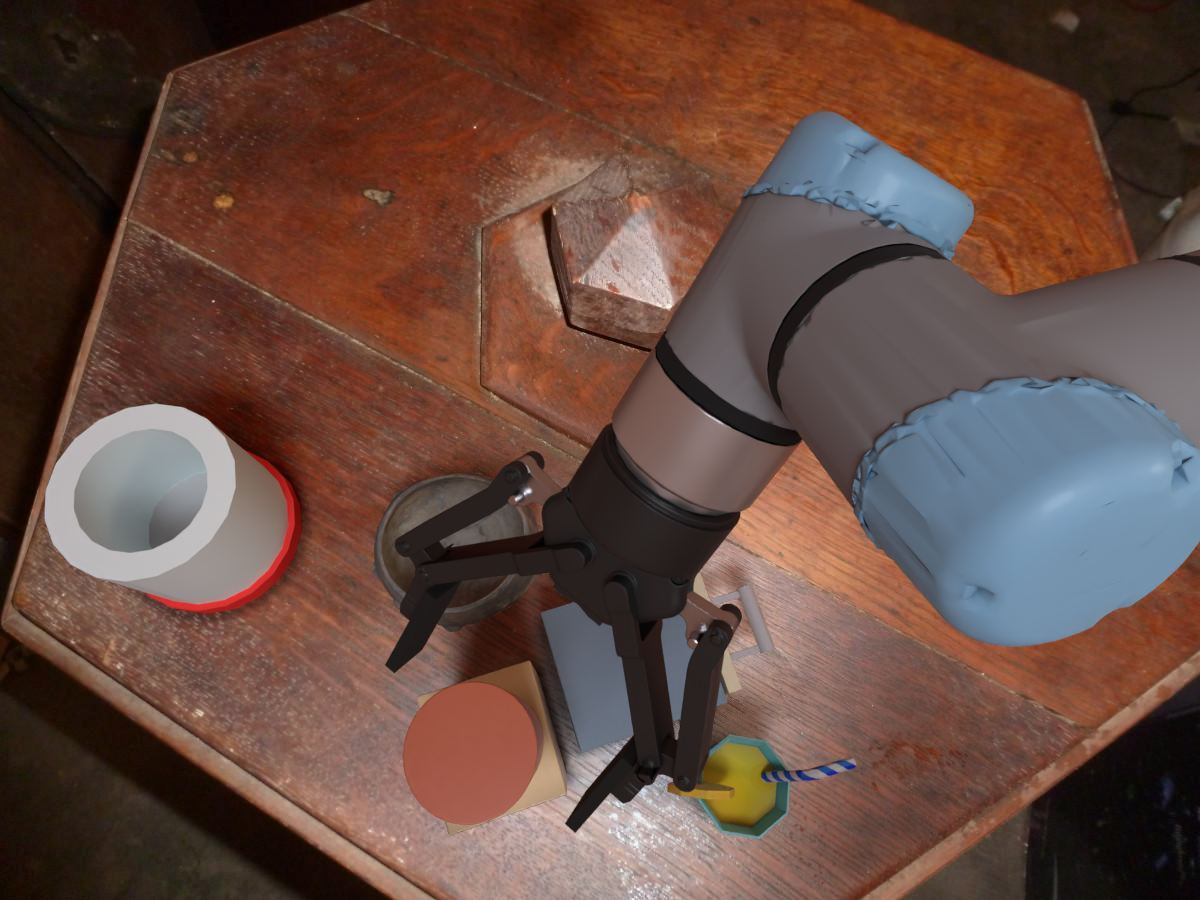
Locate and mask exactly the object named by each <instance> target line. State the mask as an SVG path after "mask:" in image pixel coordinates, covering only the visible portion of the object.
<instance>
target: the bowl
mask: <svg viewBox="0 0 1200 900" xmlns="http://www.w3.org/2000/svg"><path fill="white" fill-rule="evenodd" d="M493 480H494V478H492V477H489V476H486V475H483V474H482V473H481V472H479V471H478V472H473V471H472V472H451V473H444V474H439V475H435V476H432V477H428V478H424V479H422V480H419V481H417V482H415V483H413V484H411V485H409V486H408V487H406V488H404V489H401V490H397V491H396V492H395V493H394V494H393V495H392V496H391V500H390V503H389V504H388V506H387V507H386V510H385V512H384V513H383V514H382V517H381V519H380V521H379V523H378V526H377V528H376V533H375V538H374V544H373V545H374V546H373V564H372V566H371V571H372V572H371V575H372V577H373V578H375V579H378V580H380V583H381V584H382V586H383V588H384V589H385V591H386V592H387V593H388V595H389V596H390V598H391V599H392V602H393V603H392V604H393V605H394V606H395V608H397V609H398V610H400V604H401V602H402V600H403V598H404V596H405V594H406V593H407V591H408V589H409V587H410V585H411V583H412V581H413V579H414V577H415V566H414V564H413V562H412V561H411V559H410V558H409V557H403V556H401V555H400V554H399V553H398V552H397V551H396V548H395V541H396V539H397V538H398V537H400V536H402V535H403V534H405V533H407V532H408V531H410V530H412V529H413V528H415V527H417V526H418V525H420V524H421V523H423V522H425V521H427V520H429V519H430V518H432V517H434V516H436V515H438V514H440V513H441V512H443V511H445V510H447V509H449V508H451V507H452V506H454V505H456V504H458V503H460V502H462V501H464V500H465V499H467V498H469V497H471V496H473V495H475V494H476V493H478V492H480V491H482V490H484V489H486V488H488V487H489V485H490V484H491V482H492V481H493ZM538 532H540V529H539V526H538V522H537V519H536V516H535V515H534V513H533V511H532V509H531V508H530V506H529V504H528V505H527V506H525V507H519V506H517V505H516V506H512V505H510V504H509V503H508V504H506V505H505V506H503V507H502V508H500V509H499V510H497V511H496V512H494V513H492V514H491V515H489V516H487V517H485V518H483V519H481V520H479V521H477V522H475V523H473V524H471V525H470V526H468V527H466V528H464V529H462V530H460V531H458V532H456V533H454V534H452V535H450V536H448V537H446V538H444V539H442V540H440V543H441V544H442V546H443V547H444V548H446V547H447V546H449V545H450V544H452V543H454V545H453V546H452V547H456V546H462V545H469V544H475V543H481V542H487V541H493V540H500V539H506V538H512V537H518V536H524V535H530V534H535V533H538ZM540 576H542V574H538V575H530V576H519V574H511V575H504V576H496V577H489V578H481V579H474V580H466V581H462V582H461V584H460V586H459V587H458V589H457V591H456V593H455V594H454V596H453V598H452V600H451V601H450V603H449V605H448V606H447V608H446V610H445V612H444V613H443V615H442V617H441V619H440V620H439V622H438V624H437V625H436V626H440V627H442V628H444V630H446V631H447V632H448V633H458V632H460V630H462V629H463V627H466V626H468V625H473V624H477V623H480V622H482V621H485V620H487V619H489V618H492V617H494V616H495V615H497V614H500V613H501V612H503V611H506V610H508V609H509V608H510V607H511V606H513V605H514V604H516V603H517V602H518V601H519V600H520V599H521V598H522V597H523V596H524V595H525V594H526V593H527V591H528V589H530V587H531V586H532V584H533V583H534V581H536V580H537V579H538V578H539V577H540Z"/></svg>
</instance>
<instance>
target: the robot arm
mask: <svg viewBox="0 0 1200 900" xmlns="http://www.w3.org/2000/svg"><path fill="white" fill-rule="evenodd" d="M740 198H741V199H740V203H739V205H738V206H737V208H736V210H735V211H734V213H733V214H732V216H731V218H730V219H729V221H728V223H727V225H726V226H725V228H724V230H723V231H722V232H721V234H720V236H719V238H718V240H717V241H716V243H715V244H714V247H713V249H712V250H711V251H710V253H709V255H708V256H707V258H706V260H705V262H704V263H703V264H702V266H701V268H700V270H699V271H698V273H697V275H696V276H695V278H694V280H693V282H692V283H691V285H690V286H689V288H688V290H687V292H686V293H685V295H684V297H683V298H682V300H681V301H680V303H679V305H678V306H677V308H676V310H675V312H674V313H673V315H672V316H671V318H670V320H669V321H668V323H667V325H666V326H665V330H664V331H663V333H662V334H661V336H660V337H659V339H657V341H655V344H654V346H653V347H652V349H651V350H650V352H649V353H648V355H647V356H646V358H645V360H644V361H643V362H642V365H641V366H640V367H639V369H638V371H637V372H636V374H635V376H634V377H633V379H632V380H631V382H630V384H629V385H628V387H627V388H626V390H625V391H624V392H623V395H622V396H621V398H620V400H619V401H618V402H617V404H616V406H615V407H614V409H613V411H612V415H611V422H609V423H607V424H606V425H605V426H604V427H603V428H602V429H601V431H600V433H598V435H597V437H596V439H595V440H594V442H593V443H592V444H591V447H590V448H589V450H588V452H587V453H586V455H585V456H584V458H583V460H582V461H581V463H580V464H579V466H578V467H577V469H576V471H575V473H574V475H573V476H572V478H571V479H570V481H569V482H568V484H567V485H566V486H564V487H561V486H560V485H559V484H558V483H557V482H556V481H555V480H553V478H552V477H550V476H549V475H548V474H547V473H546V472H545V471H544V468H545V467H546V460H545V459H544V456H543V455H542V454H541V452H539V451H536V450H530V451H528V452H526V453H524V454H522V455H521V456H519V457H517V458H516V459H514V460H512V461H510V462H509V463H506V464H505V465H504V466H502V468H501V469H500V471H499V472H498V473H497V475H496V476H495V477H494V478H493V479H494V480H493V481H492V482H491V484H490V485H489V487H488V488H486V489H484V490H482V491H480V492H478V493H476V494H475V495H473V496H471V497H469V498H467V499H465V500H464V501H462V502H460V503H458V504H456V505H454V506H452V507H451V508H449V509H447V510H445V511H443V512H441V513H440V514H438V515H436V516H434V517H432V518H430V519H429V520H427V521H425V522H423V523H421V524H420V525H418V526H417V527H415V528H413V529H412V530H410V531H408V532H407V533H405V534H403V535H402V536H400V537H398V538H397V539H396V541H395V548H396V551H397V552H398V553H399V554H400V555H401V556H403V557H409V558H410V559H411V561H412V562H413V564H414V566H415V577H414V579H413V581H412V583H411V585H410V587H409V589H408V591H407V593H406V594H405V596H404V598H403V600H402V602H401V604H400V609H399V613H400V614H401V615H402V616H403V617H405V618H406V620H408V622H407V624H406V625H405V628H404V629H403V631H402V633H401V635H400V637H399V638H398V640H397V641H396V644H395V646H394V648H393V649H392V651H391V653H390V655H389V657H388V658H387V661H386V662H385V664H384V666H385V667H386V668H387V669H389V671H390V672H392V673H393V674H396V673H397V672H398V671H399V670H400V669H402V668H403V667H404V666H405V665H406V664H407V663H409V662H410V661H411V660H412V659H414V658H415V657H416V656H417V655H418V654H420V653H421V652H423V650H424V648H425V646H426V644H428V641H429V639H430V638H431V636H432V635H433V633H434V631H435V629H436V627H437V626H438V625H437V624H438V622H439V620H440V619H441V617H442V615H443V613H444V612H445V610H446V608H447V606H448V605H449V603H450V601H451V600H452V598H453V596H454V594H455V593H456V591H457V589H458V587H459V586H460V584H461V582H462V581H466V580H474V579H481V578H489V577H496V576H504V575H511V574H519V576H530V575H538V574H541V575H545V574H548V575H549V577H550V579H551V581H552V582H553V584H552V586H551V589H553V590H555V592H557V593H558V594H559V595H560V596H562V597H563V598H565V599H566V600H569V601H571V602H575V603H577V604H578V605H579V606H580V608H581V609H582V610H583V611H584V612H585V614H586V615H587V616H588V617H589V618H590V619H591V620H593V621H594V622H595V623H596V624H597V625H599V626H600V625H601V624H602V623H604V624H606V625H609V626H612V631H613V637H614V643H615V649H616V654H617V656H618V657H621V658H622V664H623V670H624V676H625V683H626V689H627V695H628V702H629V708H630V715H631V721H632V727H633V734H634V735H633V736H630V738H629V739H628V740H627V742H626V743H625V744H624V745H623V747H622V748H621V749H620V750H619V751H618V752H617V753H616V755H615V756H614V757H613V758H612V759H611V761H609V763H608V764H607V765H606V766H605V768H604V769H603V770H602V771H601V772H600V774H598V776H597V777H596V778H595V780H593V781H592V783H591V784H590V785H589V786H588V788H587V789H586V790H585V791H584V793H583V795H582V796H581V797H580V798H579V801H578V802H577V803H576V805H575V807H574V809H573V810H572V811H571V812H570V815H569V816H568V818H567V819H566V820H565V823H564V824H565V826H567V828H569V829H570V830H571V831H572V832H573V833H574V834H576V833H577V832H578V831H579V830H580V828H581V827H582V826H583V825H584V824H585V822H587V820H589V819H590V817H591V816H592V815H593V814H594V812H595V811H596V810H597V809H598V808H599V807H600V806H601V804H602V803H603V802H604V801H605V800H606V799H607V798H608V796H610V794H611V795H612V796H613V797H614V798H615V799H617V800H618V801H619V802H620V803H621V804H622V805H624V804H627V803H630V802H631V801H632V800H634V798H635V797H636V796H637V795H638V794H639V793H640V792H641V791H642V789H644V787H646V786H651V785H653V784H654V782H655V781H656V779H657V778H658V776H659V775H661V776H666V777H668V778H670V779H672V782H673V783H674V785H675V786H676V787H677V788H678V789H679V790H681V791H683V792H691V791H693V790H694V788H695V786H696V784H697V782H698V780H699V778H700V776H701V773H702V771H703V769H704V767H705V765H706V762H707V760H708V757H709V753H710V747H711V746H712V738H713V732H714V726H715V719H716V713H717V707H718V706H717V700H718V693H719V686H720V680H721V673H722V666H723V659H724V653H725V650H726V649H727V648H729V645H730V643H731V641H732V639H733V638H734V636H735V634H736V632H737V630H738V628H739V627H740V624H741V623H742V620H743V613H742V610H741V608H739V607H738V606H737V605H735V604H733V603H723V604H722V605H721V606H720V607H719V606H718V605H714V604H712V603H711V602H709V601H708V600H706V599H705V598H703V597H701V596H700V595H698V594H697V593H695V592H694V591H693V590H694V580H695V577H696V576H697V574H698V573H699V572H700V573H701V571H702V569H703V568H704V567H705V565H706V564H707V563H708V561H710V559H711V558H712V557H713V555H714V554H715V553H716V551H717V550H718V549H719V548H720V547H721V545H722V544H723V542H724V541H725V540H726V539H727V537H728V536H729V535H730V534H731V533H732V531H733V530H734V529H735V527H736V526H737V525H738V524H739V521H740V519H741V516H742V515H741V513H742V512H743V511H746V510H747V509H750V508H751V507H752V506H753V504H754V503H755V502H756V500H757V499H758V498H759V497H760V496H761V494H762V493H763V492H764V490H765V489H766V488H767V486H768V485H769V484H770V482H771V481H772V480H773V479H774V478H775V476H776V475H778V473H779V471H780V470H781V469H782V467H783V466H784V465H785V464H786V462H787V461H788V460H789V459H790V458H791V456H792V455H793V454H794V453H795V451H796V450H797V449H798V447H799V446H800V445H801V444H802V442H803V443H805V445H806V446H807V448H808V449H809V450H810V452H811V453H812V454H813V456H814V457H815V459H816V460H817V461H818V463H819V464H820V465H821V467H822V468H823V470H824V471H825V472H826V474H827V475H828V476H829V478H830V479H831V480H832V482H833V484H834V485H835V486H836V487H837V489H838V490H839V491H840V493H841V494H842V495H843V497H844V498H845V500H846V501H847V502H848V504H849V505H850V506H851V508H852V509H853V515H854V517H855V518H857V521H858V522H859V524H860V527H861V529H862V531H863V532H864V534H865V536H866V537H867V538H868V539H869V540H870V541H871V542H872V544H873V545H875V547H876V549H878V550H881V551H883V553H884V554H885V555H886V557H888V558H889V559H890V560H891V561H893V563H894V564H895V565H896V566H897V567H898V568H899V569H900V571H901V572H902V573H903V575H905V576H906V578H907V579H908V580H909V581H910V582H911V584H913V585H914V587H915V588H916V589H917V591H918V592H919V593H920V594H921V595H922V596H923V597H924V599H925V600H926V601H927V602H928V603H929V604H930V606H931V607H932V608H933V609H934V610H935V612H936V613H937V614H938V615H939V616H940V617H941V618H942V620H943V621H944V622H946V623H947V624H948V625H950V626H951V628H953V629H955V630H956V631H957V632H959V633H960V634H962V635H963V636H965V637H968V638H971V639H973V640H976V641H978V642H981V643H984V644H986V645H993V646H1000V647H1007V648H1009V647H1011V648H1013V647H1018V648H1019V647H1021V648H1022V647H1032V646H1037V645H1038V646H1039V645H1044V644H1048V643H1052V642H1056V641H1060V640H1063V639H1066V638H1069V637H1072V636H1075V635H1078V634H1080V633H1083V632H1085V631H1087V630H1089V629H1091V628H1093V627H1094V626H1096V624H1097V623H1098V622H1099V621H1100V620H1101V619H1103V618H1104V617H1105V616H1107V615H1108V614H1110V613H1112V612H1114V611H1115V610H1118V609H1124V608H1130V607H1131V606H1133V605H1135V603H1137V602H1139V601H1140V600H1142V599H1143V598H1145V597H1146V596H1148V595H1149V594H1150V593H1152V592H1153V591H1154V590H1156V589H1157V588H1158V587H1159V586H1160V585H1161V584H1163V583H1164V582H1165V581H1166V580H1167V579H1168V578H1169V577H1170V576H1171V575H1172V574H1174V573H1175V572H1176V571H1177V570H1178V569H1179V568H1180V567H1181V566H1182V565H1183V564H1184V562H1185V561H1186V560H1187V559H1188V558H1189V557H1190V555H1191V554H1192V553H1193V551H1194V550H1195V549H1196V547H1197V546H1198V545H1199V544H1200V249H1196V250H1193V251H1192V250H1191V251H1189V252H1186V253H1181V254H1175V255H1171V256H1165V257H1159V258H1158V257H1157V258H1156V259H1152V260H1145V261H1142V262H1137V263H1133V264H1130V265H1125V266H1121V267H1117V268H1113V269H1110V270H1105V271H1102V272H1097V273H1094V274H1090V275H1085V276H1082V277H1078V278H1074V279H1070V280H1066V281H1061V282H1058V283H1053V284H1050V285H1046V286H1041V287H1038V288H1035V289H1031V290H1027V291H1023V292H1020V293H1015V294H1001V293H998V292H994V291H993V290H991V289H990V288H989V287H987V286H986V285H984V284H983V283H982V282H980V281H979V280H978V279H976V278H975V277H973V276H972V275H970V274H969V273H968V272H966V271H965V270H963V268H961V267H959V266H958V265H957V264H955V263H954V262H952V261H951V260H952V259H953V258H954V257H955V256H956V254H955V253H956V252H955V250H956V247H957V245H958V243H959V242H960V241H961V239H962V238H963V237H964V236H965V234H966V233H967V231H968V229H969V228H970V227H971V225H972V223H973V221H974V216H975V206H974V203H973V200H972V198H970V196H969V195H967V194H966V193H965V192H964V191H962V190H961V189H960V188H958V187H956V186H955V185H954V184H951V183H950V182H948V181H946V180H944V179H943V178H941V177H940V176H938V175H937V174H935V173H934V172H933V171H931V170H930V169H928V168H926V166H925V167H924V166H923V165H921V164H920V163H918V162H916V160H914V159H912V158H910V157H909V156H907V155H906V154H904V153H902V152H900V151H898V150H897V149H896V148H894V147H893V146H890V145H889V144H887V143H886V142H884V141H883V140H881V139H879V138H877V137H876V136H875V135H872V134H871V133H870V132H868V131H866V130H865V129H863V128H862V127H860V126H859V125H857V124H856V123H854V122H852V121H851V120H849V119H847V118H846V117H845V116H843V115H841V114H839V113H838V112H834V111H828V110H821V111H815V112H812V113H809V114H807V115H806V116H804V117H802V118H801V119H800V120H799V121H797V123H796V124H795V125H794V126H793V127H792V129H791V131H790V132H789V134H788V135H787V136H786V138H785V139H784V141H783V142H782V144H781V146H780V147H779V148H778V149H777V151H776V152H775V154H774V155H773V157H772V159H770V161H769V163H768V165H767V166H766V167H765V169H764V170H763V172H762V173H761V175H760V176H759V177H758V179H757V181H756V182H755V183H753V184H750V185H749V186H748V188H747V189H746V190H744V192H743V193H742V195H741V197H740ZM508 503H509V504H510V505H512V506H516V505H517V506H519V507H525V506H527V505H528V506H529V505H530V504H537V505H540V506H541V507H542V508H541V523H542V530H539V532H538V533H535V534H530V535H524V536H518V537H512V538H506V539H500V540H493V541H487V542H481V543H475V544H469V545H462V546H456V547H452V546H453V545H454V543H452V544H450V545H449V546H447V547H446V548H444V547H443V546H442V544H441V543H440V540H442V539H444V538H446V537H448V536H450V535H452V534H454V533H456V532H458V531H460V530H462V529H464V528H466V527H468V526H470V525H471V524H473V523H475V522H477V521H479V520H481V519H483V518H485V517H487V516H489V515H491V514H492V513H494V512H496V511H497V510H499V509H500V508H502V507H503V506H505V505H506V504H508ZM678 614H679V615H680V616H681V617H683V619H684V620H685V622H686V626H687V628H686V632H685V636H686V639H687V645H688V647H689V648H691V649H694V651H693V653H692V655H691V657H690V660H689V663H688V667H687V672H686V679H685V687H684V695H683V702H682V710H681V718H680V719H679V726H678V732H677V733H678V734H677V739H676V734H675V733H676V732H675V726H674V721H673V718H672V711H671V704H670V697H669V690H668V683H667V676H666V669H665V662H664V655H663V648H662V640H661V632H662V627H663V620H662V619H667V618H672V617H675V616H677V615H678ZM716 706H717V707H716Z"/></svg>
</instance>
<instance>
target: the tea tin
mask: <svg viewBox="0 0 1200 900" xmlns="http://www.w3.org/2000/svg"><path fill="white" fill-rule="evenodd" d="M462 682H463V681H462ZM458 683H459V684H457V683H455V685H454V684H451V685H452V686H451V685H448V686H449V687H448V686H446V687H447V688H445V687H444V688H445V689H443V690H441V691H439V692H438V693H436V694H435V695H434V696H432V697H431V698H430V699H429V700H428V701H427V702H426V703H425V704H423V706H422V707H421V708H420V709H419V708H418V711H417V712H416V714H415V715H414V716H413V719H412V720H411V722H410V724H409V726H408V729H407V730H406V731H407V732H406V735H405V737H404V743H403V750H402V765H403V771H404V776H405V779H406V782H407V785H408V787H409V790H410V791H411V792H410V793H412V795H413V796H414V798H415V799H416V802H418V803H419V804H420V806H421V807H423V808H424V809H425V810H426V811H427V812H428V813H430V814H431V815H432V816H434V817H435V818H437V819H440V820H441V821H444V822H445V821H447V822H450V823H453V824H460V825H473V824H480V823H483V822H487V821H490V820H492V819H494V818H497V817H498V816H500V815H502V814H503V813H505V812H506V811H507V810H509V809H510V808H511V807H512V806H513V805H514V804H515V803H516V802H517V801H518V800H519V799H520V798H521V796H522V795H523V794H524V792H525V791H526V789H527V787H528V785H529V784H530V782H531V780H532V778H533V776H534V775H535V773H536V771H537V769H538V767H539V764H540V761H541V758H542V753H543V733H542V728H541V725H540V722H539V720H538V718H537V716H536V714H535V712H534V711H533V709H532V708H531V707H530V706H529V705H528V704H527V703H526V702H525V701H524V700H523V699H521V698H520V697H518V696H517V695H515V694H513V693H511V692H509V691H507V690H505V689H503V688H500V687H498V686H496V685H493V684H489V683H485V682H463V683H460V682H458ZM490 822H491V821H490ZM487 823H488V822H487Z"/></svg>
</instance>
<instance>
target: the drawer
mask: <svg viewBox="0 0 1200 900" xmlns="http://www.w3.org/2000/svg"><path fill="white" fill-rule="evenodd" d="M752 585H753V584H752V583H748V584H745V585H743V586H739V587H738V588H736V590H735V591H732V592H729V593H726V594H722V595H720V596H717V597H714V598H711V599H710V595H709V592H708V591H707V587H706V585H705V581H704V578H703V577H702V574H701V571H700V572H699V573H698V574H697V576H696V577H695V580H694V590H693V591H694V592H695V593H697V594H698V595H700V596H701V597H703V598H705V599H706V600H708V601H709V602H711V603H712V604H714V605H715V606H718V605H720V604H725V603H727V602H731V601H733V600H737V599H739V600H740V602H741V605H742V608H743V610H744V613H745V616H746V619H747V621H748V624H749V626H750V629H751V632H752V635H753V637H754V640H755V643H756V645H753V646H750V647H746V648H744V649H741V650H738V651H735V652H731V653H730V651H729V647H727V649H726V650H725V653H724V659H723V666H722V673H721V680H720V681H721V684H722V687H723V690H724V693H725V695H728V694H729V695H730V694H732V693H736V692H739V691H740V690H743V687H742V684H741V681H740V678H739V676H738V673H737V670H736V668H735V664H734V661H737V660H739V659H742V658H746V657H749V656H751V655H754V654H758V653H760V654H764V653H768V652H771V651H774V650H775V649H776V646H775V644H774V643H775V642H774V640H773V638H772V635H771V632H770V631H769V628H768V624H767V622H766V619H765V617H764V613H763V612H762V609H761V606H760V604H759V601H758V599H757V596H756V593H755V591H754V588H753V586H752Z"/></svg>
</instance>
